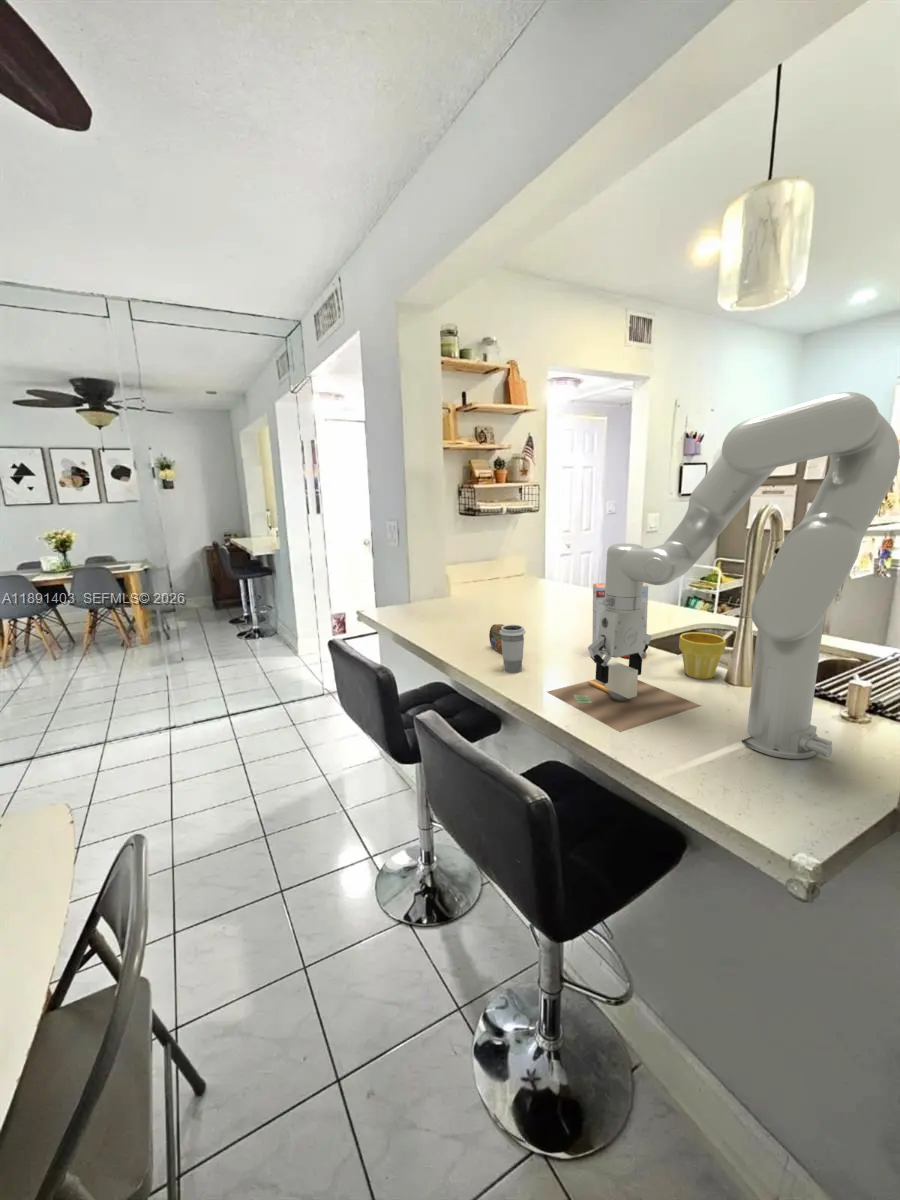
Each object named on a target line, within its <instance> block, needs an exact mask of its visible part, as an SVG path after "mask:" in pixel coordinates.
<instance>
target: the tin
mask: <svg viewBox="0 0 900 1200" xmlns="http://www.w3.org/2000/svg"><path fill="white" fill-rule="evenodd" d="M505 625H506V624H502V623H498V624H497V623H496V624H495V623H494V624H492V625H491V626H490V629H489V635H488V636H489V643H490V646H491V648H492V650H494V652H496V653H498V654H500V655H502V644H501V638H502V637H501V634H500V633H499V632H500V630H501V627H502V626H505Z"/></svg>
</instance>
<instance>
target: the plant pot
mask: <svg viewBox="0 0 900 1200" xmlns="http://www.w3.org/2000/svg"><path fill="white" fill-rule="evenodd" d="M678 648H679V650H680V651H681V655H682V662H683V669H684V673H686V674H687V676H688V677H690V676H691V677H690V678H693V679H699V680H709V678H710V679H712V677H713V678H714V677H715V674H716V671H717V668H718V665H719V664H720V659H721V657H722V656H723V655H724V654H725V650H726V639H725V638H724V637H723V636H720V635H717V634H713V633H707V632H699V631H698V632H697V631H695V632H694V631H693V632H692V631H691V632H683V633H682V634H680V636H679V641H678ZM686 674H685V675H686Z"/></svg>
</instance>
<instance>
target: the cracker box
mask: <svg viewBox="0 0 900 1200" xmlns="http://www.w3.org/2000/svg"><path fill="white" fill-rule="evenodd" d="M605 583H606V582H603V583H602V582H601V583H593V585H592V641H591V644H592V643H593V642H595V641H596V640H597V639H598V631H599V624H600V618H601V614H602V610H603V609H604V605H603V603H602V601H603V600H605ZM648 602H649V584H647V583H644V582H643V591H642V605H641V607H643V608H644V613H645V621H646V634H648V632H647V631H648V629H647V627H648V624H647V623H648V606H649V605H648V604H649V603H648ZM597 652H599V651H597ZM629 656H630V655H627V656H623V657H620V658H621V659H623V658H624V659H626V658H627V659H629ZM646 657H647V650H646V651H645V656H644V657H643V658H646Z"/></svg>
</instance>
